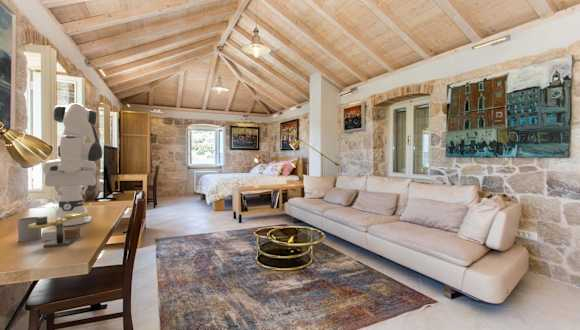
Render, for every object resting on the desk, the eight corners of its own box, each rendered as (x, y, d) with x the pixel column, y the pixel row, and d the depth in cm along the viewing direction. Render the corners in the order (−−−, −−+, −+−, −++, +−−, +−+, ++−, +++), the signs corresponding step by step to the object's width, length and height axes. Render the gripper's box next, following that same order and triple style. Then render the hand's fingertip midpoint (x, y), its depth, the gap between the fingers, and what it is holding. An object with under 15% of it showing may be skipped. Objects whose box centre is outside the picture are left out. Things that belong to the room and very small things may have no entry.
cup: (27, 241, 133) (26, 221, 133) (13, 240, 134) (13, 220, 134) (45, 236, 141) (45, 217, 141) (32, 235, 143) (32, 216, 142)
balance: (34, 243, 131) (34, 214, 130) (91, 238, 139) (91, 212, 138) (24, 249, 122) (23, 218, 122) (85, 244, 130) (84, 215, 130)
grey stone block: (43, 238, 139) (43, 230, 139) (56, 237, 142) (56, 229, 141) (42, 241, 135) (42, 233, 134) (55, 239, 138) (55, 231, 137)
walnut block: (68, 237, 141) (68, 227, 141) (80, 236, 143) (80, 226, 143) (64, 240, 136) (64, 230, 136) (76, 239, 138) (76, 229, 138)
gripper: (97, 167, 145) (97, 193, 145) (49, 167, 138) (49, 194, 138) (93, 167, 139) (94, 194, 140) (43, 167, 132) (43, 196, 132)
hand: (71, 194), depth 139 cm, fingers open, 8 cm apart
